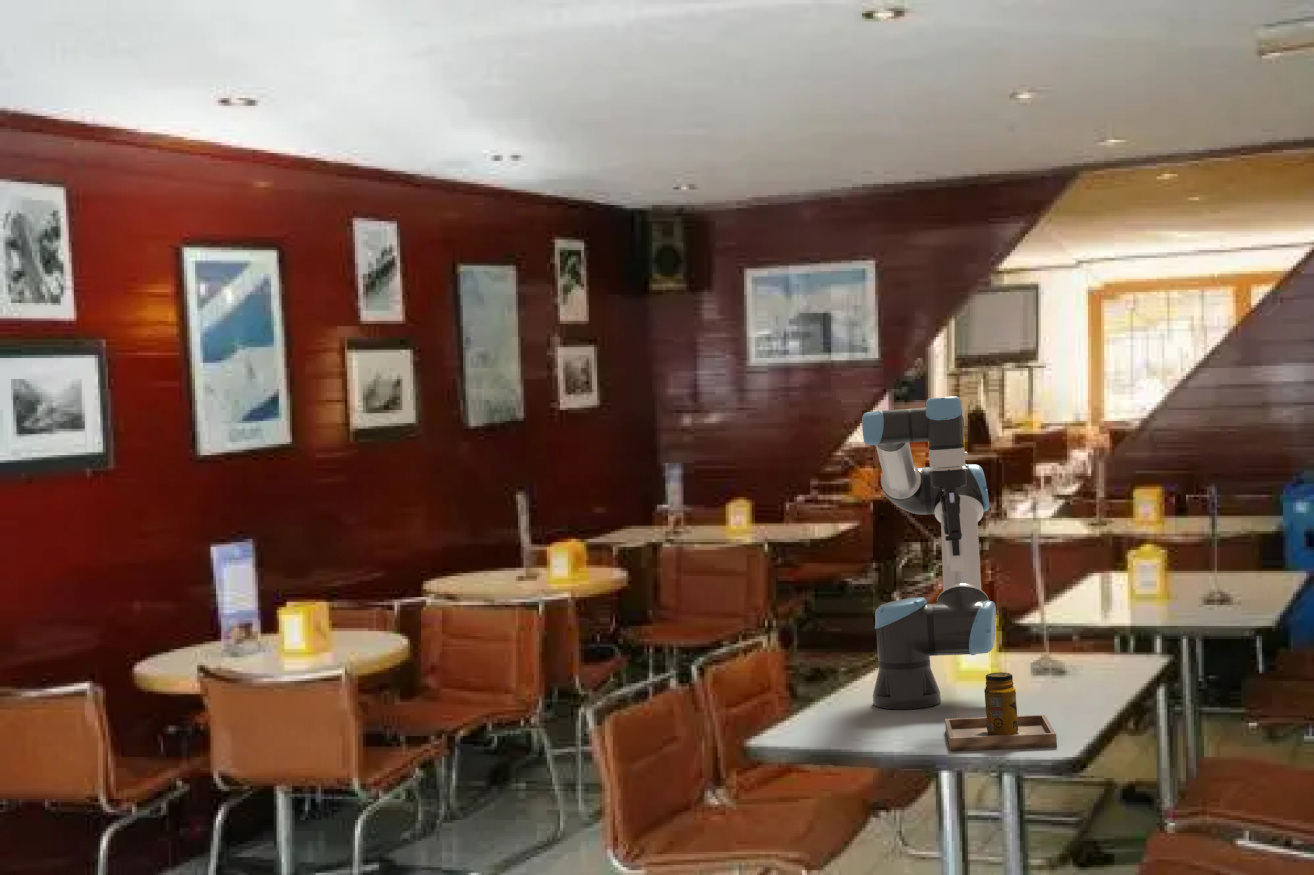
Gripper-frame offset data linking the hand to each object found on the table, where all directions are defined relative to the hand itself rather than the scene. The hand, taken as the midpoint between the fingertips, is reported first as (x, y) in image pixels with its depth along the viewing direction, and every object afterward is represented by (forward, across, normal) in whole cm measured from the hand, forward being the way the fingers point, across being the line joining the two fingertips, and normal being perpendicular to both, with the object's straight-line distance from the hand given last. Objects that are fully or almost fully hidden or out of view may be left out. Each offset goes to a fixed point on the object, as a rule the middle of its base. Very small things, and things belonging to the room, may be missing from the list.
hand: (955, 567), depth 319 cm
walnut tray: (+32, -24, -5) cm, 40 cm away
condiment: (+31, -24, -5) cm, 40 cm away
